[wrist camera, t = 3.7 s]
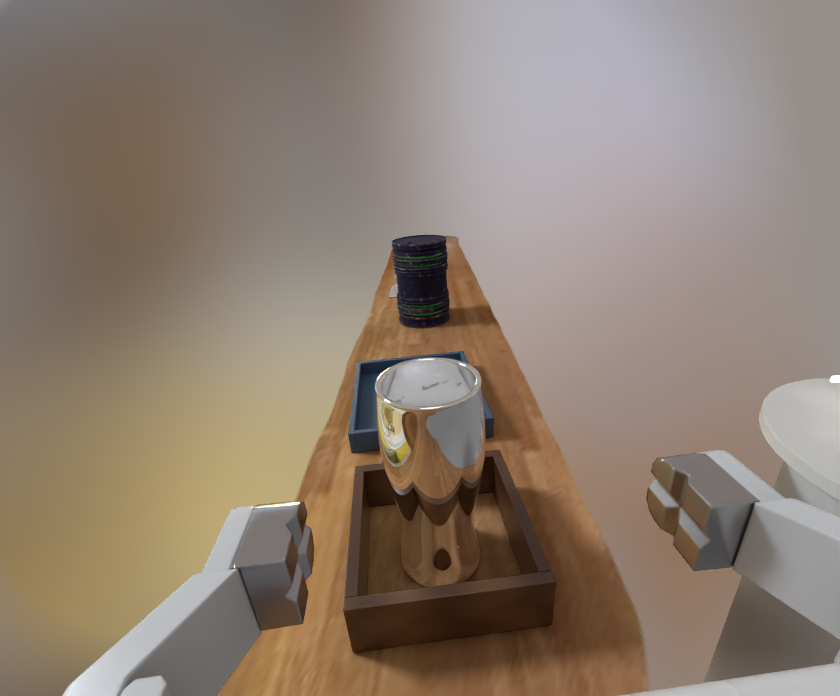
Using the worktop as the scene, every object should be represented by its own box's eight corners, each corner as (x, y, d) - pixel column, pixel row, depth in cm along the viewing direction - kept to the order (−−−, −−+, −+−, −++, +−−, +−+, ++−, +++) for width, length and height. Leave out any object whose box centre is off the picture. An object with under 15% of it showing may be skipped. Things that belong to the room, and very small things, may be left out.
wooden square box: (499, 484, 37) (499, 449, 36) (552, 625, 26) (556, 582, 24) (361, 501, 37) (354, 466, 35) (352, 653, 25) (343, 610, 24)
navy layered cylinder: (419, 307, 85) (413, 234, 79) (459, 314, 80) (457, 235, 74) (388, 323, 78) (379, 243, 72) (430, 331, 73) (424, 246, 67)
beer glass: (381, 584, 29) (352, 404, 23) (410, 510, 35) (393, 352, 29) (478, 606, 27) (475, 416, 21) (491, 524, 33) (491, 358, 27)
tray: (463, 365, 60) (463, 350, 59) (493, 436, 44) (493, 417, 43) (358, 376, 59) (356, 361, 58) (351, 453, 43) (348, 434, 42)
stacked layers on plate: (392, 285, 103) (389, 263, 100) (428, 283, 102) (426, 261, 100) (388, 297, 94) (385, 273, 91) (427, 295, 93) (426, 271, 91)
